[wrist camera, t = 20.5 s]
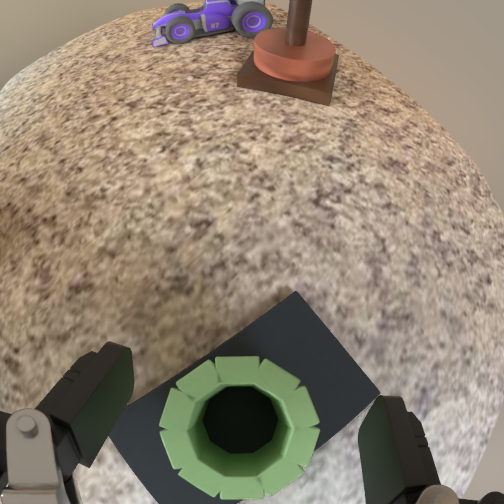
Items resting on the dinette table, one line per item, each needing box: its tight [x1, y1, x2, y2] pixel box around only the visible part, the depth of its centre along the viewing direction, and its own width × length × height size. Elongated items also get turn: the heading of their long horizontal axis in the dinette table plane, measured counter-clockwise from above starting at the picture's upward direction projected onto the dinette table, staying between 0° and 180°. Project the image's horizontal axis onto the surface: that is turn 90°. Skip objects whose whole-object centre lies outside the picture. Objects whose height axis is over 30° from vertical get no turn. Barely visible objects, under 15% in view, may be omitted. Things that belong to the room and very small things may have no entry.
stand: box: [237, 0, 339, 106], centre depth 24 cm, size 9×9×10 cm
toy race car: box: [152, 0, 273, 47], centre depth 31 cm, size 10×15×6 cm, turn 104°
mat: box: [108, 291, 380, 504], centre depth 15 cm, size 14×8×1 cm, turn 127°
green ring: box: [159, 356, 320, 499], centre depth 13 cm, size 6×6×5 cm
